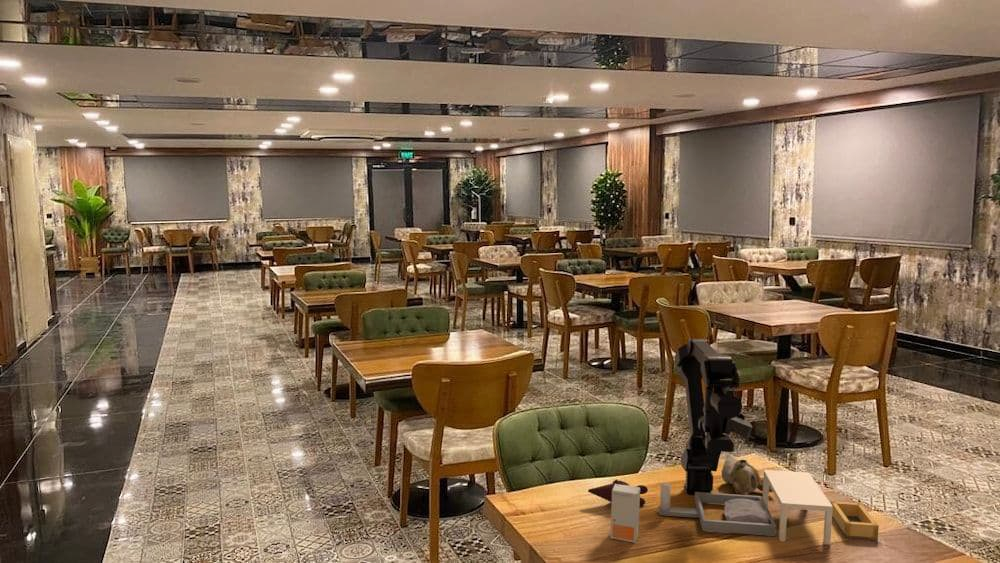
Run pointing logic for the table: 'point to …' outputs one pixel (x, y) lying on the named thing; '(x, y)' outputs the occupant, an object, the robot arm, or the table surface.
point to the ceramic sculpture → (742, 476)
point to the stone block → (745, 511)
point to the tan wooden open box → (854, 521)
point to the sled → (716, 524)
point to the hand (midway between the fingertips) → (713, 466)
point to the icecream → (606, 490)
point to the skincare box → (625, 513)
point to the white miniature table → (797, 497)
